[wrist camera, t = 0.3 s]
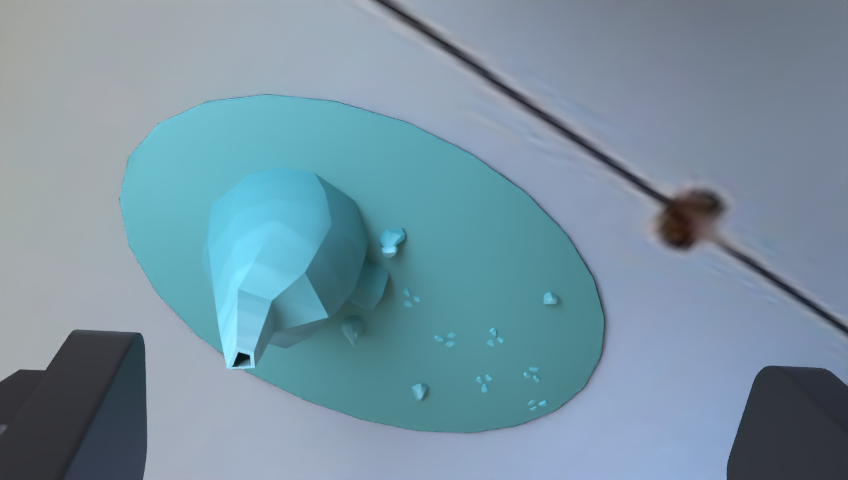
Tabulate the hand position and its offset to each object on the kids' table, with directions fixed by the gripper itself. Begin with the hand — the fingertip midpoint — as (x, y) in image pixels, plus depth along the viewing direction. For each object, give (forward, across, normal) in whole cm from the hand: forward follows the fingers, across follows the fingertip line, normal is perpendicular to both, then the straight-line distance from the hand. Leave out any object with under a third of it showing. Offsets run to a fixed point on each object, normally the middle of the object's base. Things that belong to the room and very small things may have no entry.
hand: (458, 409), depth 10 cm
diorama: (+18, 0, +7) cm, 19 cm away
